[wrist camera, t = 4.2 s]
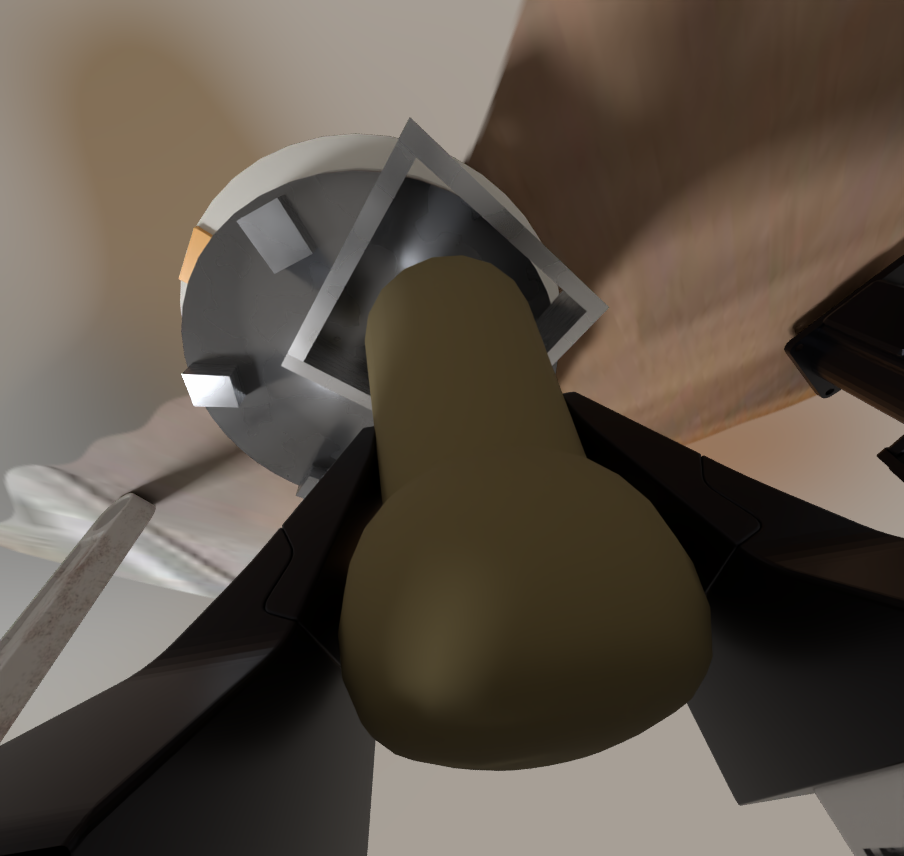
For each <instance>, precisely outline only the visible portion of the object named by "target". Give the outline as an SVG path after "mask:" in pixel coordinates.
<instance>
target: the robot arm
mask: <svg viewBox="0 0 904 856" xmlns="http://www.w3.org/2000/svg"><path fill="white" fill-rule="evenodd" d="M784 350H785V352H786V354H787V355H788V356H789V358H790V359H791V360H792V362H793V363H794V365H795V366H796V367H797V369H798V370H799V371H800V373H801V374H802V376H803V377H804V378H805V380H806V381H807V382H808V384H809V385H810V386H811V388H812V389H813V391H814V392H815V393H816V394H817V395H819V396H820V397H822V398H828V397H830V396H832V395H834V394H835V393H837V392H838V391H840V390H841V389H842V390H844V391H846V392H847V393H849V394H851V395H853V396H855V397H856V398H858V399H860V400H862V401H864V402H865V403H867V404H869V405H871V406H873V407H874V408H876V409H878V410H880V411H881V412H883V413H885V414H887V415H889V416H891V417H892V418H894V419H896V420H898V421H899V422H901V423H903V424H904V255H903V256H901V257H900V258H898V259H897V260H896V261H894V262H893V263H892V264H890V265H889V266H888V267H887V268H885V269H884V270H883V271H881V272H880V273H879V274H877V275H876V276H875V277H873V278H872V279H871V280H869V281H868V282H867V283H865V284H864V285H863V286H861V287H860V288H859V289H857V290H856V291H855V292H853V293H852V294H851V295H849V296H848V297H847V298H845V299H844V300H843V301H842V302H840V303H839V304H838V305H836V306H835V307H834V308H832V309H831V310H830V311H828V312H827V313H826V314H824V315H823V316H822V317H820V318H819V319H818V320H816V321H815V322H814V323H812V324H811V325H810V326H808V327H807V328H806V329H804V330H803V331H802V332H800V333H799V334H798V335H797V336H795V337H794V338H793V339H791V340H790V341H789V342H788V343H787V344H786V346H785V348H784ZM563 396H564V399H565V402H566V404H567V407H568V410H569V412H570V415H571V418H572V420H573V423H574V426H575V428H576V431H577V434H578V436H579V439H580V442H581V444H582V447H583V450H584V452H585V455H586V458H587V459H589V460H591V461H593V462H595V463H597V464H599V465H601V466H603V467H605V468H607V469H609V470H610V471H612V472H614V473H616V474H618V475H620V476H621V477H622V478H623V479H625V480H626V481H627V482H628V483H629V484H630V485H632V486H633V487H634V488H635V489H636V490H638V491H639V492H640V493H641V494H642V495H643V496H645V497H646V498H647V499H648V500H649V501H650V502H651V503H652V505H653V506H654V507H655V509H656V510H657V511H658V513H659V514H660V516H661V517H662V518H663V520H664V521H665V523H666V524H667V525H668V527H669V528H670V530H671V531H672V532H673V534H674V535H675V536H676V538H677V539H678V541H679V542H680V544H681V545H682V547H683V548H684V550H685V551H686V553H687V554H688V556H689V557H690V559H691V560H692V562H693V564H694V567H695V569H696V572H697V574H698V577H699V579H700V582H701V585H702V587H703V590H704V592H705V595H706V597H707V600H708V603H709V605H710V612H711V633H712V654H713V657H712V660H711V663H710V666H709V669H708V671H707V674H706V676H705V677H704V679H703V681H702V683H701V684H700V686H699V688H698V689H697V691H696V693H695V694H694V696H693V698H692V699H691V700H690V701H689V702H687V704H688V706H689V708H690V710H691V712H692V714H693V716H694V718H695V720H696V722H697V724H698V726H699V728H700V730H701V732H702V734H703V736H704V738H705V740H706V742H707V744H708V746H709V748H710V750H711V752H712V754H713V756H714V758H715V760H716V762H717V764H718V766H719V768H720V770H721V772H722V774H723V776H724V778H725V780H726V782H727V784H728V786H729V788H730V790H731V792H732V794H733V796H734V798H735V800H736V801H737V803H738V804H739V805H747V804H753V803H759V802H765V801H771V800H776V799H782V798H789V797H794V796H801V795H807V794H812V793H815V794H816V795H817V797H818V799H819V800H820V802H821V803H822V805H823V807H824V808H825V810H826V811H827V813H828V814H829V816H830V818H831V819H832V821H833V822H834V824H835V825H836V827H837V829H838V830H839V832H840V833H841V835H842V837H843V838H844V840H845V841H846V843H847V845H848V846H849V848H850V849H851V851H852V852H853V854H854V856H904V538H901V537H897V536H893V535H890V534H887V533H884V532H880V531H877V530H874V529H872V528H869V527H867V526H864V525H861V524H859V523H856V522H854V521H852V520H849V519H847V518H845V517H842V516H840V515H837V514H835V513H832V512H830V511H828V510H825V509H823V508H821V507H818V506H815V505H813V504H811V503H809V502H806V501H804V500H801V499H799V498H797V497H794V496H792V495H789V494H787V493H784V492H782V491H780V490H777V489H775V488H773V487H771V486H768V485H766V484H764V483H761V482H759V481H757V480H754V479H752V478H750V477H748V476H746V475H743V474H741V473H739V472H737V471H735V470H733V469H731V468H728V467H726V466H724V465H722V464H720V463H718V462H716V461H714V460H712V459H710V458H708V457H706V456H702V457H701V454H700V453H698V452H696V451H694V450H692V449H690V448H688V447H686V446H684V445H682V444H680V443H678V442H676V441H674V440H671V439H669V438H667V437H665V436H663V435H661V434H659V433H657V432H655V431H653V430H651V429H649V428H647V427H645V426H643V425H641V424H639V423H637V422H635V421H633V420H631V419H629V418H627V417H625V416H623V415H621V414H619V413H617V412H615V411H613V410H611V409H609V408H607V407H605V406H603V405H601V404H599V403H597V402H595V401H593V400H591V399H589V398H587V397H585V396H583V395H581V394H579V393H576V392H568V393H563ZM877 457H878V458H879V459H880V460H881V461H882V462H884V463H885V464H886V465H887V466H888V467H889V469H890V470H891V471H892V472H893V473H894V474H895V475H896V476H898V477H899V479H901V480H902V481H903V482H904V435H903V436H902V437H900V438H899V439H898V440H897V441H896V442H895V443H893V444H892V445H891V446H890V447H887V448H884V449H883V450H882V451H881V452H880V453H878V454H877ZM382 506H383V504H382V495H381V486H380V476H379V467H378V458H377V449H376V434H375V428H374V426H371V427H365V428H363V429H362V430H361V431H360V432H359V433H358V434H357V435H356V437H355V438H354V439H353V440H352V442H351V443H350V444H349V445H348V446H347V448H346V449H345V450H344V451H343V452H342V454H341V455H340V456H339V457H338V458H337V460H336V461H335V462H334V463H333V464H332V466H331V467H330V468H329V469H328V470H327V472H326V473H325V474H324V475H323V477H322V478H321V479H320V480H319V481H318V483H317V484H316V485H315V486H314V487H313V489H312V490H311V491H310V492H309V493H308V495H307V496H306V497H305V498H304V499H303V501H302V502H301V503H300V504H299V505H298V507H297V508H296V509H295V510H294V512H293V513H292V514H291V515H290V516H289V518H288V519H287V520H286V521H285V522H284V524H283V525H282V528H279V529H278V531H277V532H276V533H275V534H274V535H273V537H272V538H271V539H270V540H269V541H268V543H267V544H266V545H265V546H264V547H263V548H262V550H261V551H260V552H259V553H258V554H257V555H256V556H255V558H254V559H253V560H252V561H251V562H250V563H249V564H248V565H247V566H246V568H245V569H244V570H243V571H242V572H241V573H240V574H239V575H238V576H237V577H236V578H235V579H234V580H233V581H232V583H231V584H230V585H229V586H228V587H227V588H226V589H225V590H224V591H223V592H222V593H221V594H220V595H219V596H218V597H217V598H216V599H215V600H214V601H213V602H212V603H211V604H210V605H209V606H208V607H207V608H206V610H204V612H203V613H202V614H201V615H200V616H199V617H198V618H197V619H196V620H195V621H194V622H193V623H192V624H191V625H190V626H189V627H188V628H187V629H186V630H185V631H184V632H183V633H182V634H181V635H180V636H179V637H178V638H177V639H176V640H175V642H173V643H172V644H171V645H170V646H169V647H168V648H167V649H166V650H165V651H164V652H163V653H162V654H161V655H159V656H158V657H157V658H156V659H155V660H153V661H152V662H151V663H149V664H148V665H147V666H145V667H144V668H143V669H141V670H140V671H138V672H137V673H135V674H134V675H132V676H131V677H129V678H128V679H126V680H124V681H122V682H120V683H119V684H117V685H115V686H113V687H111V688H109V689H107V690H105V691H103V692H101V693H100V694H98V695H96V696H94V697H92V698H90V699H88V700H86V701H84V702H83V703H80V704H79V705H77V706H75V707H73V708H71V709H69V710H67V711H66V712H63V713H61V714H60V715H58V716H56V717H54V718H52V719H50V720H48V721H46V722H44V723H43V724H41V725H39V726H37V727H35V728H33V729H31V730H29V731H27V732H25V733H24V734H22V735H20V736H18V737H16V738H14V739H12V740H10V741H8V742H6V743H5V744H3V745H1V746H0V856H367V850H368V836H369V823H370V809H371V794H372V781H373V767H374V751H375V739H374V738H372V737H371V736H370V734H369V733H368V732H367V730H366V729H365V728H364V726H363V725H362V724H361V721H360V719H359V717H358V715H357V712H356V710H355V708H354V705H353V703H352V701H351V698H350V696H349V694H348V691H347V689H346V687H345V684H344V682H343V680H342V671H341V661H340V651H339V641H338V629H339V622H340V616H341V609H342V602H343V596H344V590H345V585H346V580H347V574H348V569H349V564H350V561H351V559H352V557H353V554H354V552H355V549H356V547H357V545H358V542H359V540H360V537H361V535H362V533H363V530H364V528H365V527H366V526H367V525H368V523H369V522H370V521H371V520H372V518H373V517H374V516H375V515H376V513H377V512H378V511H379V509H380V508H381V507H382Z"/></svg>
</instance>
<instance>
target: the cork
mask: <svg viewBox="0 0 904 856" xmlns="http://www.w3.org/2000/svg"><path fill="white" fill-rule="evenodd" d="M365 348H366V357H367V366H368V376H369V385H370V394H371V403H372V412H373V421H374V428H375V434H376V449H377V458H378V467H379V476H380V486H381V495H382V504H383V506H382V507H381V508H380V509H379V511H378V512H377V513H376V515H375V516H374V517H373V518H372V520H371V521H370V522H369V523H368V525H367V526H366V527H365V528H364V530H363V533H362V535H361V537H360V540H359V542H358V545H357V547H356V549H355V552H354V554H353V557H352V559H351V561H350V564H349V569H348V574H347V580H346V585H345V590H344V596H343V602H342V609H341V616H340V622H339V629H338V641H339V651H340V661H341V671H342V680H343V682H344V684H345V687H346V689H347V691H348V694H349V696H350V698H351V701H352V703H353V705H354V708H355V710H356V712H357V715H358V717H359V719H360V721H361V724H362V725H363V726H364V728H365V729H366V730H367V732H368V733H369V734H370V736H371V737H372V738H374V739H375V740H376V741H378V742H379V743H381V744H382V745H383V746H385V747H386V748H387V749H389V750H390V751H392V752H393V753H394V754H396V755H399V756H402V757H405V758H408V759H411V760H415V761H419V762H424V763H430V764H436V765H441V766H446V767H451V768H460V769H470V770H494V771H506V770H521V769H529V768H530V769H531V768H537V767H543V766H550V765H554V764H559V763H564V762H568V761H572V760H576V759H580V758H583V757H587V756H590V755H593V754H596V753H599V752H601V751H603V750H606V749H608V748H610V747H613V746H615V745H617V744H620V743H622V742H624V741H626V740H628V739H630V738H632V737H634V736H637V735H639V734H640V733H642V732H644V731H645V730H647V729H649V728H650V727H652V726H654V725H655V724H657V723H658V722H660V721H662V720H663V719H665V718H666V717H668V716H670V715H671V714H673V713H674V712H676V711H677V710H678V709H680V708H681V707H682V706H683V705H685V704H686V703H687V702H689V701H690V700H691V699H692V698H693V696H694V694H695V693H696V691H697V689H698V688H699V686H700V684H701V683H702V681H703V679H704V677H705V676H706V674H707V671H708V669H709V666H710V663H711V660H712V657H713V654H712V633H711V612H710V605H709V603H708V600H707V597H706V595H705V592H704V590H703V587H702V585H701V582H700V579H699V577H698V574H697V572H696V569H695V567H694V564H693V562H692V560H691V559H690V557H689V556H688V554H687V553H686V551H685V550H684V548H683V547H682V545H681V544H680V542H679V541H678V539H677V538H676V536H675V535H674V534H673V532H672V531H671V530H670V528H669V527H668V525H667V524H666V523H665V521H664V520H663V518H662V517H661V516H660V514H659V513H658V511H657V510H656V509H655V507H654V506H653V505H652V503H651V502H650V501H649V500H648V499H647V498H646V497H645V496H643V495H642V494H641V493H640V492H639V491H638V490H636V489H635V488H634V487H633V486H632V485H630V484H629V483H628V482H627V481H626V480H625V479H623V478H622V477H621V476H620V475H618V474H616V473H614V472H612V471H610V470H609V469H607V468H605V467H603V466H601V465H599V464H597V463H595V462H593V461H591V460H589V459H587V458H586V455H585V452H584V450H583V447H582V444H581V442H580V439H579V436H578V434H577V431H576V428H575V426H574V423H573V420H572V418H571V415H570V412H569V410H568V407H567V404H566V402H565V399H564V396H563V394H562V391H561V388H560V386H559V383H558V380H557V378H556V375H555V372H554V370H553V367H552V364H551V362H550V359H549V357H548V354H547V351H546V349H545V346H544V343H543V341H542V338H541V335H540V333H539V330H538V327H537V325H536V322H535V319H534V317H533V314H532V311H531V309H530V306H529V303H528V301H527V300H526V298H525V297H524V295H523V294H522V292H521V291H520V289H519V288H518V286H517V284H516V283H515V281H514V280H513V279H511V278H510V277H509V276H507V275H506V274H505V273H503V272H502V271H501V270H499V269H498V268H497V267H495V266H494V265H492V264H491V263H488V262H484V261H481V260H477V259H474V258H470V257H467V256H463V255H459V256H444V257H431V258H429V259H427V260H424V261H422V262H420V263H417V264H415V265H413V266H410V267H408V268H406V269H403V270H402V271H401V272H400V273H399V274H398V275H397V276H396V277H395V278H394V279H393V280H391V281H390V282H389V283H388V284H387V285H386V286H385V287H384V288H383V289H382V290H381V292H380V294H379V295H378V297H377V299H376V301H375V303H374V305H373V307H372V309H371V310H370V312H369V314H368V321H367V328H366V335H365Z"/></svg>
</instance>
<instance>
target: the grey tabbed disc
mask: <svg viewBox="0 0 904 856" xmlns="http://www.w3.org/2000/svg"><path fill="white" fill-rule="evenodd" d="M416 158H418V159H419V160H420V161H421V162H422V163H423V164H424V165H425V166H426V167H428V168H429V169H430V170H431V171H432V172H433V173H434V174H435V175H436V176H438V177H439V178H440V179H441V180H442V181H443V182H444V183H445V184H446V185H447V186H449V187H450V188H451V189H452V190H453V191H454V192H453V191H452V190H450V189H448V188H446V187H445V186H442V185H439V184H437V183H434V182H432V181H429V180H427V179H424V178H421V177H419V176H415V175H411V174H407V173H408V171H409V170H410V168H411V166H412V164H413V162H414V161H415V159H416ZM459 255H463V256H467V257H470V258H474V259H477V260H481V261H484V262H488V263H491V264H492V265H494V266H495V267H497V268H498V269H499V270H501V271H502V272H503V273H505V274H506V275H507V276H509V277H510V278H511V279H513V280H514V281H515V283H516V284H517V286H518V288H519V289H520V291H521V292H522V294H523V295H524V297H525V298H526V300H527V301H528V303H529V306H530V309H531V311H532V314H533V317H534V319H535V322H536V325H537V327H538V330H539V333H540V335H541V338H542V341H543V343H544V346H545V349H546V351H547V354H548V357H549V359H550V362H551V364H552V367H553V370H554V372H555V375H556V368H557V360H558V359H559V358H560V357H561V356H562V355H563V354H564V353H565V352H566V351H567V350H568V349H569V348H570V347H571V346H572V345H573V344H574V343H575V342H576V341H577V340H578V339H579V338H580V337H581V336H582V335H583V334H584V333H585V332H586V331H587V330H588V329H589V328H590V327H591V326H592V325H593V323H594V322H595V321H596V320H597V319H598V318H599V317H600V316H601V315H602V314H603V313H604V312H605V311H606V310H607V309H608V308H609V307H608V306H607V305H606V304H605V303H604V302H603V301H602V300H601V299H600V298H599V297H598V296H597V295H596V294H595V293H594V292H593V291H592V290H590V289H589V288H588V287H587V286H586V285H585V284H584V283H583V282H582V281H581V280H580V279H579V278H578V277H577V276H576V275H575V274H574V273H573V272H572V271H571V270H570V269H568V268H567V267H566V266H565V265H564V264H563V263H562V262H561V261H560V260H559V259H558V258H557V257H556V256H555V255H554V254H553V253H552V252H551V251H550V250H549V249H548V248H546V247H545V246H544V245H543V244H542V243H541V242H540V241H539V240H538V239H537V238H536V237H535V236H534V235H533V234H532V233H531V232H530V231H529V230H528V229H527V228H526V227H524V226H523V225H522V224H521V223H520V222H519V221H518V220H517V219H516V218H515V217H514V216H513V215H512V214H511V213H510V212H509V211H508V210H507V209H506V208H505V207H504V206H502V205H501V204H500V203H499V202H498V201H497V200H496V199H495V198H494V197H493V196H492V195H491V194H490V193H489V192H488V191H487V190H486V189H485V188H484V187H483V186H482V185H480V184H479V183H478V182H477V181H476V180H475V179H474V178H473V177H472V176H471V175H470V174H469V173H468V172H467V171H466V170H465V169H464V168H463V167H462V166H461V165H460V164H458V163H457V162H456V161H455V160H454V159H453V158H452V157H451V156H450V155H449V154H448V153H447V152H446V151H445V150H444V149H443V148H442V147H441V146H440V145H438V144H437V143H436V142H435V141H434V140H433V139H432V138H431V137H430V136H429V135H428V134H427V133H426V132H425V131H424V130H423V129H422V128H421V127H420V126H419V125H417V123H415V122H414V121H413V120H412V119H411V118H409V120H408V122H407V124H406V126H405V127H404V130H403V131H402V133H401V135H400V137H399V139H398V141H397V143H396V145H395V147H394V149H393V151H392V152H391V154H390V156H389V158H388V160H387V162H386V164H385V166H384V168H383V169H372V168H350V169H340V170H330V171H326V172H322V173H318V174H314V175H311V176H307V177H303V178H300V179H297V180H294V181H291V182H288V183H286V184H284V185H282V186H279V187H277V188H275V189H273V190H271V191H269V192H266V193H264V194H262V195H260V196H258V197H257V198H255V199H254V200H253V201H251V202H250V203H248V204H247V205H245V206H244V207H243V208H241V209H240V210H238V211H237V212H235V213H234V214H233V215H232V216H231V217H230V218H229V219H228V220H227V221H226V222H225V223H224V224H223V225H222V226H221V227H220V228H219V229H218V230H217V231H216V232H215V233H214V235H213V236H212V238H211V239H210V241H209V242H208V244H207V245H206V247H205V248H204V250H203V251H202V253H201V254H200V256H199V257H198V259H197V262H196V264H195V266H194V269H193V271H192V274H191V276H190V278H189V281H188V284H187V288H186V293H185V298H184V302H183V307H182V331H181V332H182V340H183V348H184V355H185V359H186V362H187V366H188V368H187V369H186V370H185V371H184V372H183V373H182V376H183V379H184V381H185V384H186V387H187V389H188V391H189V394H190V397H191V399H192V402H193V405H194V406H205V407H206V409H207V410H208V412H209V413H210V415H211V417H212V418H213V419H214V421H215V422H216V423H217V424H218V425H219V427H220V428H221V429H222V430H223V432H224V433H225V434H226V435H227V436H228V437H229V438H230V439H231V440H232V441H233V442H234V443H235V444H236V445H237V446H238V447H239V448H240V449H241V450H242V451H244V452H245V453H246V454H247V455H249V456H250V457H251V458H252V459H254V460H255V461H256V462H257V463H259V464H261V465H262V466H264V467H265V468H267V469H268V470H270V471H271V472H273V473H275V474H276V475H278V476H280V477H282V478H284V479H286V480H288V481H290V482H292V483H294V484H297V485H299V486H298V490H297V493H296V496H298V497H301V498H305V497H306V496H307V495H308V493H309V492H310V491H311V490H312V489H313V487H314V486H315V485H316V484H317V483H318V481H319V480H320V479H321V478H322V477H323V475H324V474H325V473H326V472H327V470H328V469H329V468H330V467H331V466H332V464H333V463H334V462H335V461H336V460H337V458H338V457H339V456H340V455H341V454H342V452H343V451H344V450H345V449H346V448H347V446H348V445H349V444H350V443H351V442H352V440H353V439H354V438H355V437H356V435H357V434H358V433H359V432H360V431H361V430H362V429H363V428H365V427H371V426H374V421H373V412H372V403H371V394H370V385H369V376H368V366H367V357H366V348H365V335H366V328H367V321H368V314H369V312H370V310H371V309H372V307H373V305H374V303H375V301H376V299H377V297H378V295H379V294H380V292H381V290H382V289H383V288H384V287H385V286H386V285H387V284H388V283H389V282H390V281H391V280H393V279H394V278H395V277H396V276H397V275H398V274H399V273H400V272H401V271H402V270H403V269H406V268H408V267H410V266H413V265H415V264H417V263H420V262H422V261H424V260H427V259H429V258H431V257H444V256H459ZM530 260H531V261H532V262H533V263H534V264H535V265H536V266H537V267H538V268H539V269H540V270H542V271H543V272H544V273H545V274H546V275H547V276H548V277H549V278H550V279H552V280H553V281H554V282H555V283H556V284H557V285H558V286H559V287H560V288H561V289H563V291H562V292H561V293H560V294H559V295H558V296H557V298H556V299H555V300H554V301H553V302H552V303H551V302H550V299H549V296H548V293H547V290H546V288H545V286H544V284H543V282H542V280H541V278H540V276H539V274H538V272H537V270H536V268H535V267H534V265H533V264H532V262H531V261H530Z"/></svg>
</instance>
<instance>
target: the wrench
mask: <svg viewBox="0 0 904 856" xmlns="http://www.w3.org/2000/svg"><path fill="white" fill-rule="evenodd" d="M155 509H156V507H155V505H153V504H151V503H149V502H148V501H146V500H144V499H142V498H140V497H139V496H137V495H135V494H133V493H128V494H126V495H124V496H122V497H121V498H119V499H118V500H117V501H115V502H114V503H113V504H112V505H111V506H110V507H108V508H107V509H106V510H105V511H104V512H103V513H102V514H101V515H100V517H99V518H98V519H97V520H96V521H95V523H94V524H93V525H92V526H91V528H90V529H89V530H88V531H87V533H86V534H85V535H84V536H83V538H82V539H81V540H80V541H79V543H78V544H77V545H76V546H75V547H74V549H73V550H72V551H71V552H70V554H69V555H68V556H67V557H66V559H65V560H64V561H63V562H62V564H61V565H60V566H59V568H58V569H57V570H56V571H55V573H54V574H53V575H52V576H51V578H50V579H49V580H48V581H47V583H46V584H45V585H44V586H43V588H42V589H41V590H40V591H39V593H38V594H37V595H36V596H35V598H34V599H33V600H32V601H31V602H30V604H29V605H28V606H27V608H26V609H25V610H24V611H23V612H22V614H21V615H20V616H19V617H18V619H17V620H16V621H15V622H14V624H13V625H12V626H11V627H10V629H9V630H8V631H7V632H6V633H5V635H4V636H3V637H2V639H1V640H0V742H1V741H2V739H3V738H4V736H5V735H6V733H7V732H8V730H9V729H10V727H11V726H12V724H13V723H14V721H15V720H16V718H17V717H18V715H19V714H20V712H21V711H22V709H23V708H24V706H25V704H26V703H27V702H28V700H29V699H30V698H31V696H32V694H33V693H34V692H35V690H36V689H37V687H38V686H39V684H40V683H41V681H42V679H43V678H44V677H45V675H46V674H47V672H48V671H49V669H50V668H51V666H52V665H53V663H54V662H55V660H56V659H57V657H58V656H59V654H60V653H61V651H62V650H63V648H64V647H65V646H66V644H67V643H68V641H69V640H70V638H71V637H72V635H73V634H74V632H75V631H76V629H77V628H78V626H79V625H80V623H81V622H82V620H83V618H84V617H85V616H86V614H87V613H88V611H89V610H90V608H91V607H92V605H93V604H94V602H95V601H96V599H97V598H98V596H99V595H100V593H101V592H102V591H103V589H104V588H105V586H106V585H107V583H108V582H109V580H110V578H111V577H112V576H113V574H114V573H115V571H116V570H117V568H118V567H119V565H120V564H121V562H122V561H123V559H124V558H125V556H126V555H127V553H128V552H129V550H130V549H131V547H132V546H133V544H134V543H135V541H136V540H137V539H138V537H139V536H140V534H141V533H142V531H143V530H144V528H145V527H146V525H147V524H148V522H149V521H150V519H151V518H152V516H153V514H154V512H155Z"/></svg>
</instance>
